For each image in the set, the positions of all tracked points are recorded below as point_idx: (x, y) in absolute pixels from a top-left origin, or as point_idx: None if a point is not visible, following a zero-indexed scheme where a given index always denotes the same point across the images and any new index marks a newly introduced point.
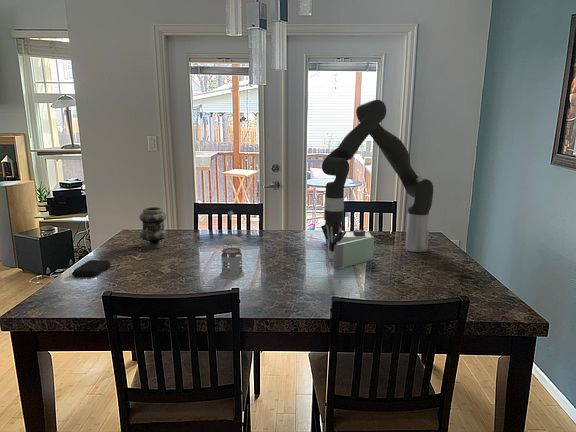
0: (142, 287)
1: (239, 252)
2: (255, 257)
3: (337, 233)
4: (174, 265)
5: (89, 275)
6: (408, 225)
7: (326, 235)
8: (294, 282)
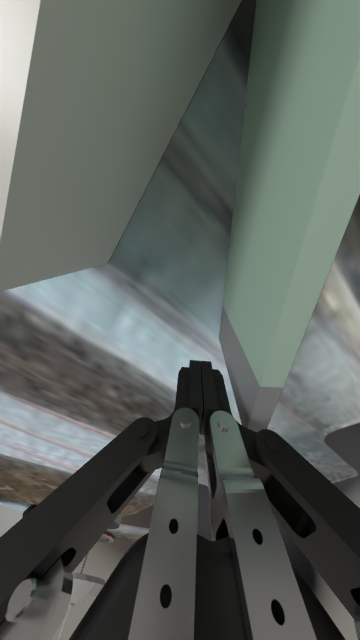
0: None
1: (108, 532)
2: (30, 409)
3: (298, 579)
4: (48, 481)
5: None
6: None
7: (140, 487)
8: None
